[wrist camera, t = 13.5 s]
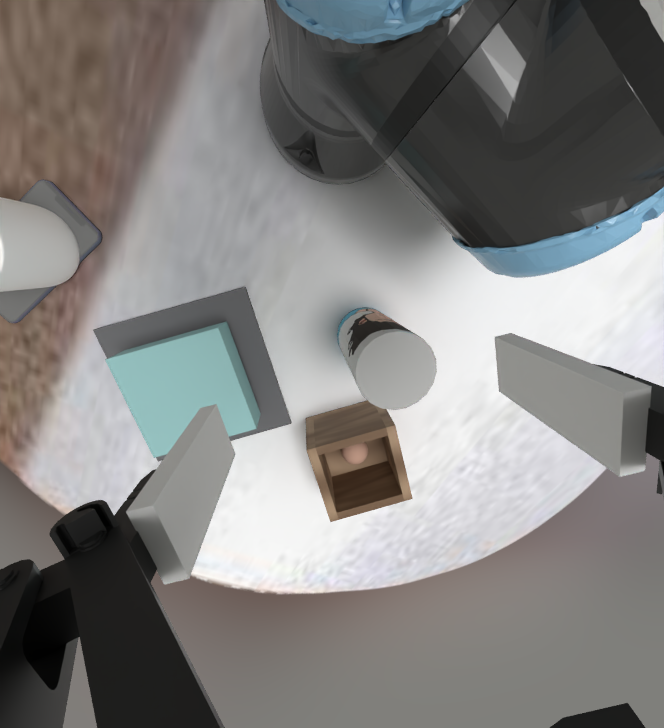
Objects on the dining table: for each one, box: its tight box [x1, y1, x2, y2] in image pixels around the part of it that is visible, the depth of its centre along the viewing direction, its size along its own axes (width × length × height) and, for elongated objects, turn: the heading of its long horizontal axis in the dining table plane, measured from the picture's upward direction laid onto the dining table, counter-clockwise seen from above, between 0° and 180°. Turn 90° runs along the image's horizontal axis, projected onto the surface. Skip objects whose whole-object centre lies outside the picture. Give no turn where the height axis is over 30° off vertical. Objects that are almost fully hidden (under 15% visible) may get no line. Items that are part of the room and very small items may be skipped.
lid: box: [106, 321, 261, 458], centre depth 39 cm, size 12×12×5 cm
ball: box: [341, 442, 368, 464], centre depth 43 cm, size 3×3×3 cm
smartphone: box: [0, 180, 102, 323], centre depth 36 cm, size 8×1×15 cm
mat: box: [93, 287, 291, 461], centre depth 41 cm, size 18×18×1 cm
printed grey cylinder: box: [337, 307, 437, 410], centre depth 35 cm, size 7×7×15 cm
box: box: [306, 401, 412, 522], centre depth 42 cm, size 10×10×8 cm
